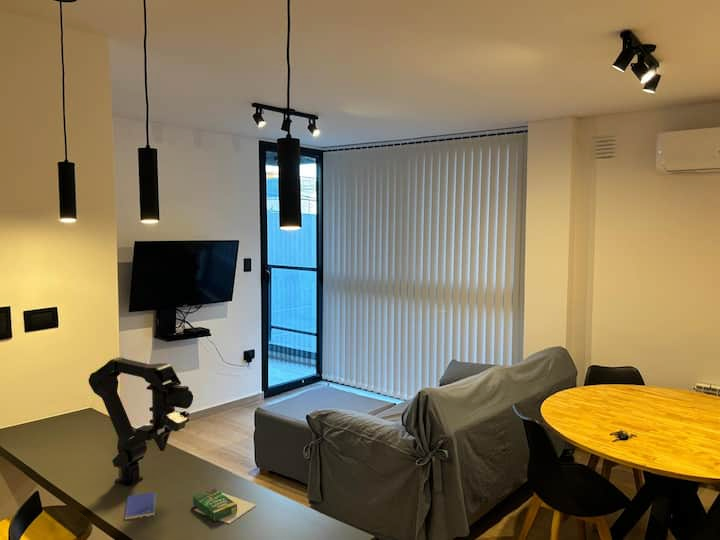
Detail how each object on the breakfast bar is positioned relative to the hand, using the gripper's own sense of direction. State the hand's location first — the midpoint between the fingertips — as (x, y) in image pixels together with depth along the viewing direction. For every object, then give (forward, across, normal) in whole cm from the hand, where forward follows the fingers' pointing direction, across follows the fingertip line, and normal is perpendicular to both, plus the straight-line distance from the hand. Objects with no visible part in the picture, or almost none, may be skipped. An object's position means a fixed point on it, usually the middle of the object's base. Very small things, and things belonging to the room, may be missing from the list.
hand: (162, 450), depth 179 cm
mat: (+13, -2, -26) cm, 29 cm away
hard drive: (+14, -11, -2) cm, 18 cm away
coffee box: (+11, -1, -17) cm, 20 cm away
